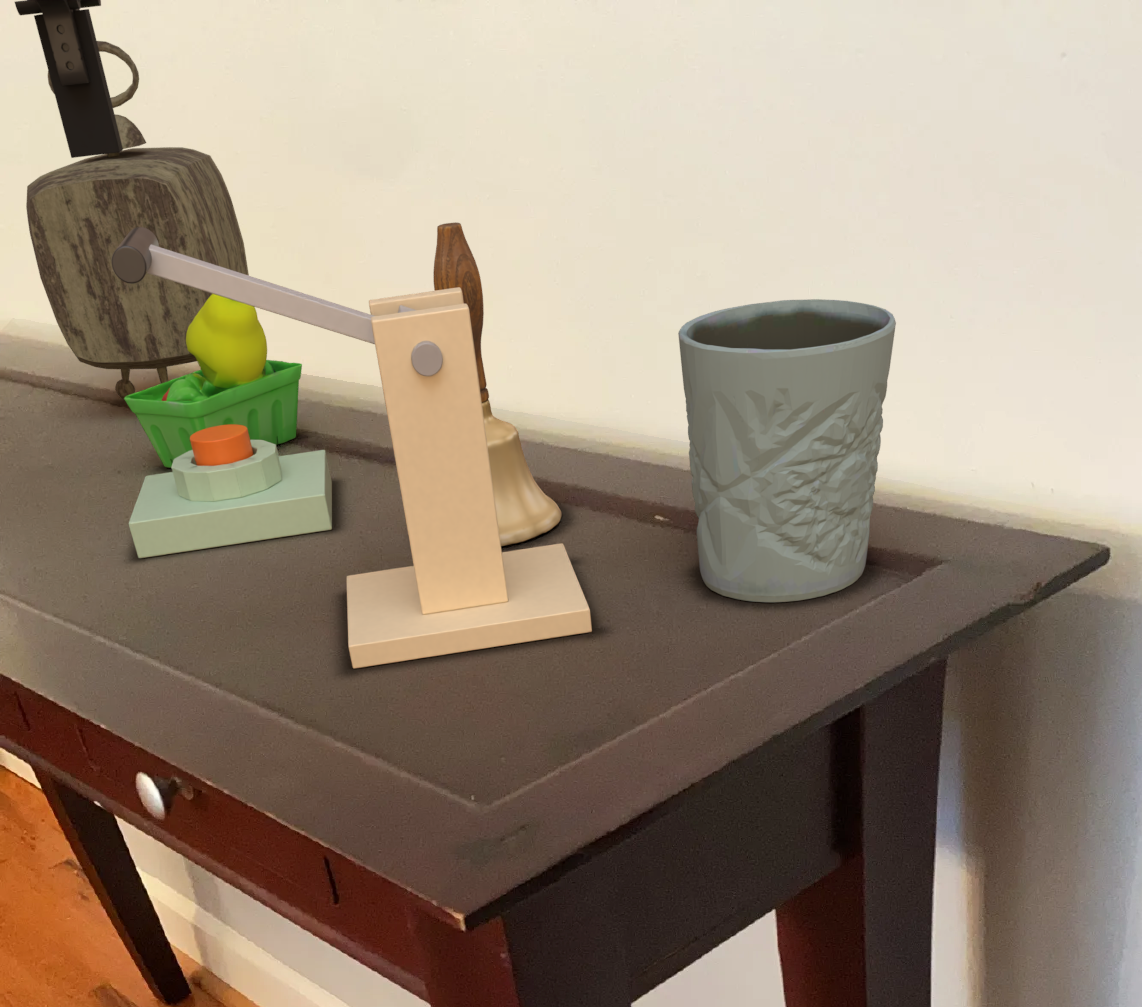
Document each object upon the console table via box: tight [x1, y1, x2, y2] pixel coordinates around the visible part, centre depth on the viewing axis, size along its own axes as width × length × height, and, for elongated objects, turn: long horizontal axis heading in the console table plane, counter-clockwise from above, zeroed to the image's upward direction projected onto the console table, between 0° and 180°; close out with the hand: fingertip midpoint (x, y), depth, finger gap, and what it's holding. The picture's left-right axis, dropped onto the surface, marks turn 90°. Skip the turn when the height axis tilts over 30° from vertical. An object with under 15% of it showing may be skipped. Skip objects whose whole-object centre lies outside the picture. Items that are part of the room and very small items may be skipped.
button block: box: [127, 440, 333, 559], centre depth 88 cm, size 12×10×4 cm
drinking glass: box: [677, 298, 897, 603], centre depth 69 cm, size 10×10×12 cm
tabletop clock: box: [25, 40, 250, 400], centre depth 108 cm, size 14×9×25 cm, turn 84°
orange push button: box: [190, 424, 254, 466], centre depth 87 cm, size 4×4×2 cm
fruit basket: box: [123, 294, 303, 469], centre depth 99 cm, size 11×9×11 cm
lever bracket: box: [345, 287, 593, 669], centre depth 68 cm, size 12×10×15 cm
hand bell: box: [433, 222, 562, 547], centre depth 78 cm, size 8×8×16 cm
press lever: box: [111, 227, 416, 345], centre depth 63 cm, size 15×6×2 cm, turn 98°
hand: (97, 153), depth 78 cm, fingers closed
